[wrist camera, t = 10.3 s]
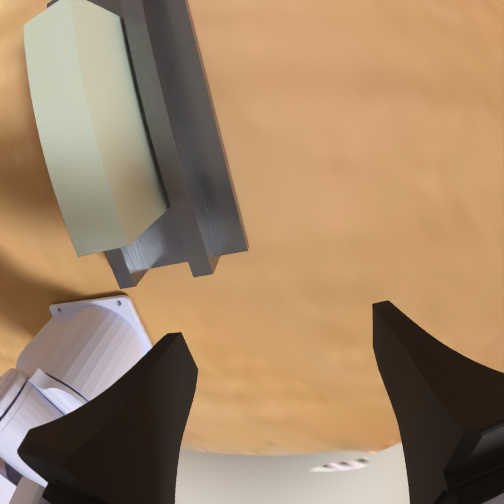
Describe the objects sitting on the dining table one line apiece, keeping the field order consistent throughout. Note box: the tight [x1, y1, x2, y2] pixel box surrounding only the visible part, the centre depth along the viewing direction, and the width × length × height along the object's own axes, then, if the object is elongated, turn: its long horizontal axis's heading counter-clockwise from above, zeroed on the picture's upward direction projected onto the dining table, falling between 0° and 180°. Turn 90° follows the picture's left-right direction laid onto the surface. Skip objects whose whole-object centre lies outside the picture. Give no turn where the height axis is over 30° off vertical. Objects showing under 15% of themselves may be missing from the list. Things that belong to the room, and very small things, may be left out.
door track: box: [47, 0, 249, 289], centre depth 16 cm, size 20×10×3 cm, turn 13°
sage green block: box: [23, 0, 171, 257], centre depth 14 cm, size 12×4×7 cm, turn 13°
